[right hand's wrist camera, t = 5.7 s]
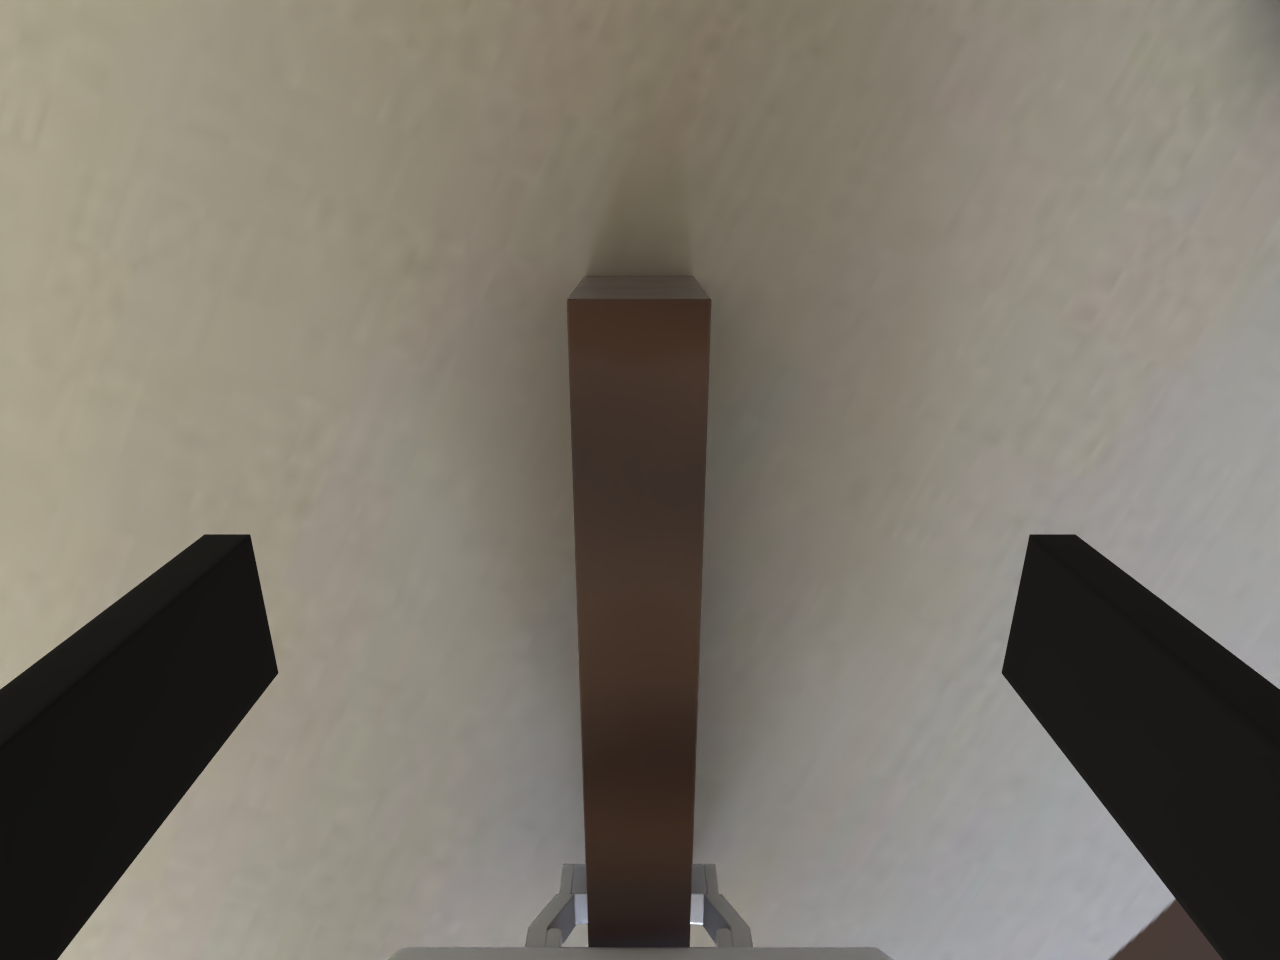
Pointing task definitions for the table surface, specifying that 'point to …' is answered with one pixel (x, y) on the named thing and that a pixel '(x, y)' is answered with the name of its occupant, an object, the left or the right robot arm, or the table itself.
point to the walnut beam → (639, 592)
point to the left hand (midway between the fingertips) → (640, 873)
